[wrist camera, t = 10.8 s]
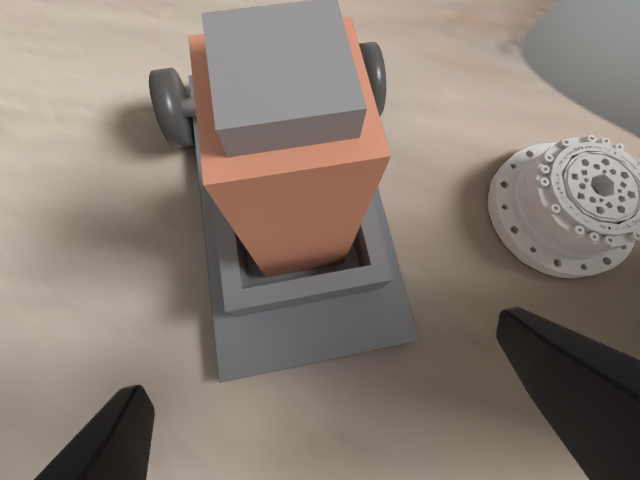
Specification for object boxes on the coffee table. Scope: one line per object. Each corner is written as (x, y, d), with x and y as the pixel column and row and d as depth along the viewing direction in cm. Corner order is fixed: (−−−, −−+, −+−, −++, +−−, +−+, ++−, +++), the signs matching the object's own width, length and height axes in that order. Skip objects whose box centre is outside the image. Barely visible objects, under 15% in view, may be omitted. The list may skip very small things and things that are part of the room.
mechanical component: (498, 136, 26) (472, 250, 23) (535, 97, 22) (507, 230, 19) (625, 177, 26) (614, 299, 23) (688, 144, 21) (683, 290, 19)
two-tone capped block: (343, 263, 21) (402, 128, 8) (266, 277, 21) (187, 161, 7) (328, 193, 23) (356, -25, 9) (255, 205, 22) (172, -4, 9)
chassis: (433, 336, 21) (469, 335, 17) (201, 385, 20) (167, 398, 15) (357, 65, 28) (367, 7, 23) (175, 89, 26) (146, 33, 22)
